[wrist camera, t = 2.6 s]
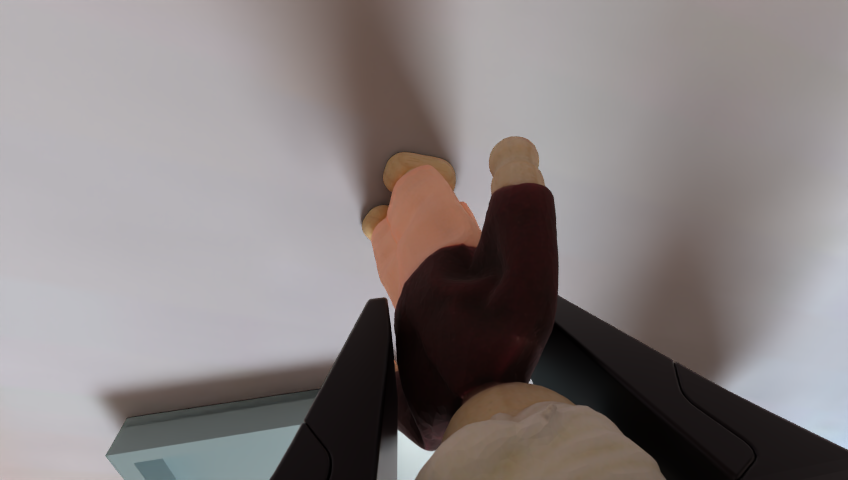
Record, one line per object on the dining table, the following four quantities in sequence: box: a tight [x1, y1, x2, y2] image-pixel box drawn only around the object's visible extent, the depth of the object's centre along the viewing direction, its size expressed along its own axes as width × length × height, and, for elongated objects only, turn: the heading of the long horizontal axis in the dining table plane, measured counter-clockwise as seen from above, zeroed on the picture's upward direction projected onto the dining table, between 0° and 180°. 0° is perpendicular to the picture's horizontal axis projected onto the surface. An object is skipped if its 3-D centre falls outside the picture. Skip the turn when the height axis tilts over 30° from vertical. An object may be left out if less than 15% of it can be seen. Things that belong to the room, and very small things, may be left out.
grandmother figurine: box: [362, 136, 666, 480], centre depth 9 cm, size 8×4×13 cm, turn 164°
